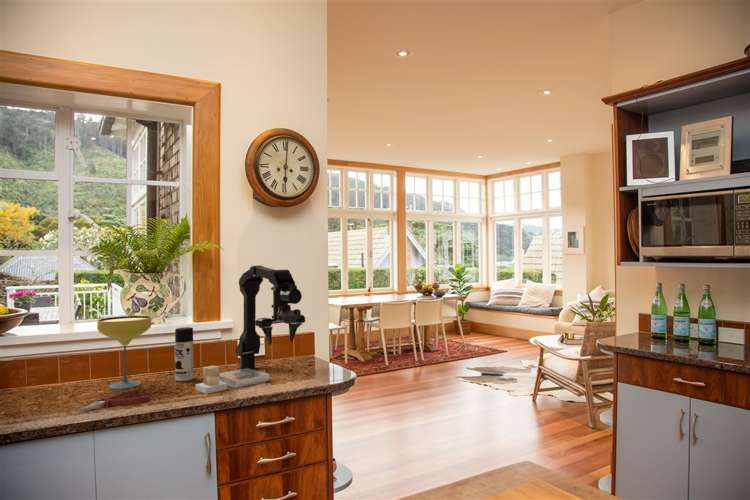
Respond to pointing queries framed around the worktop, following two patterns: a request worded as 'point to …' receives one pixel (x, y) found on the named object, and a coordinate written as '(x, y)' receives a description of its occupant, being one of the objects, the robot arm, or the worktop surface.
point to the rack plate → (243, 377)
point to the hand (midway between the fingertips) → (281, 343)
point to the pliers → (117, 401)
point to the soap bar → (211, 387)
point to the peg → (211, 375)
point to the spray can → (184, 354)
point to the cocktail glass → (124, 338)
